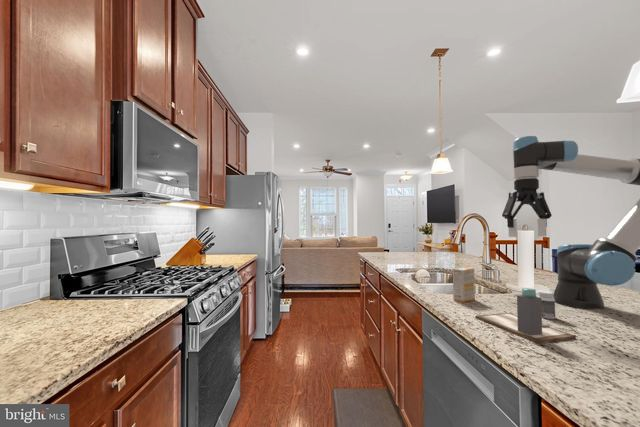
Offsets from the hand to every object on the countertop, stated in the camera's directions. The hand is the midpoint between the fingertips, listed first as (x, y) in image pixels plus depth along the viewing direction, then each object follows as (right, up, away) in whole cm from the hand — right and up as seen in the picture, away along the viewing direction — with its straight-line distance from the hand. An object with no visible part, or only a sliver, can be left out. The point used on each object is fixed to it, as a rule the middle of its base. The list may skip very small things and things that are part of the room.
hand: (527, 236), depth 110 cm
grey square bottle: (-17, -25, -26) cm, 40 cm away
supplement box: (-17, -27, +13) cm, 35 cm away
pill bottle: (0, -27, -9) cm, 28 cm away
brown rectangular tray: (-15, -26, -19) cm, 36 cm away
